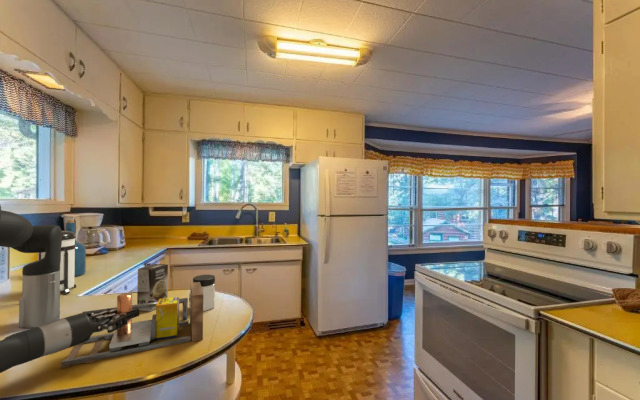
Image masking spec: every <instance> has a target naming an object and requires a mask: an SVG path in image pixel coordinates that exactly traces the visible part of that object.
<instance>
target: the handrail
mask: <svg viewBox="0 0 640 400" xmlns="http://www.w3.org/2000/svg"><path fill="white" fill-rule="evenodd" d="M188 302H189V297H184V298H179V305H180V304H182V318H181V319H182V321H188V309H189V308H188V307H189V306H188ZM157 303H158V302H152V303H145V304H137V303H136V304H132V310H134V309H145V308H152V307H156V305H157ZM104 309H105V308H102V309H93V310H86V311H82V312H81V313H85V314H86V313H89V312H94V311H99V310H104ZM106 309H111V310H113V309H117V306H116V307H109V308H106Z"/></svg>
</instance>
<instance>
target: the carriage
mask: <svg viewBox="0 0 640 400" xmlns="http://www.w3.org/2000/svg"><path fill="white" fill-rule="evenodd" d="M132 305H133V294H132V293H130V292H129V293H127V292H126V293H122V294H118V295H117V297H116V307H117V314H120V313H125V312H128V311H131V310H132ZM118 318H119V317H118ZM113 333H114V335H113V338H112V339H110V342H109V346H108V347H109V351H110V352H112V351H117V350H121V349H122V348H123V347H126V346H133V345H137V344H138V346H143V345H149V343H150V342H151V341H153V340H156V313H154V314H152V318H151V319H147V320H141V321H136V322H133V318H132V319H129V320H127V324H126V325H124V326H122V327H121V328H119V329H117V330H115V331H114V332H113Z"/></svg>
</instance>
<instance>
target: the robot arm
mask: <svg viewBox="0 0 640 400" xmlns="http://www.w3.org/2000/svg"><path fill="white" fill-rule="evenodd" d="M59 226H60V225H54V224H52V225H49V224H48V225H33V223H32V222H31V221H30V220H29V219H27V218H26V217H25V216H22V215H20V214H18V213H15V212H12V211H7V210H3V209H2V206H1V204H0V247H1V248H2V247H3V248H11V249H13V250H15V251H17V252H19V253H24V254H38V253H42V252H46V255H45V257H44V258H43V259H41V260H39V261H38V260H36V261H33V262H30V263H28V264H25V265H24V266H23V267H22V273H21V274H22V279H21V284H22V285H21V286H22V287H21V288H22V290H21V297H20V298H19V300H18V328H19V329H23V328H25V330H22V331H19V332H16V333H13V334H10V335H8V336H7V337H5V338H4V339H2V340H0V374H1V373H4V372H6V371H7V370H9V369H11V368H14V367H16V366H20V365H23V364H26V363H28V362H29V363H30V362H32V361H34V360H36V359H40V358H43V357H46V356H49V355H53V354H56V353H59V352H62V351H64V350H67V349H70V348H74V347H75V346H76V345H78V344H81V343H84V342H86V341H88V340H89V338H90V337H92V335H93V334H94V333H101V332H103V331H105V330H106V331H107V333H106V334H110V333H114V332H115V331H116V330H117V329H119V328H121V327H122V326H124V325H126V324H127V320H129V319H132V320H133V319H134V318H137V317H139V316H140V310H139V309H134V310H131V311H128V312H125V313H120V314H117V309H113V310H111V309H107V308H103V309H104V310H100V309H98V310H99V311H94V312H89V313H86V314H85V313H82V312H80V313H77V314H72V315H70V316H66V317H63V318H61V317H60V316H61V315H60V314H61V309H60V308H61V291H60V262H61V245H62V231H63V230H62V229H61V226H60V227H59ZM118 317H119V318H118ZM84 344H85V343H84Z"/></svg>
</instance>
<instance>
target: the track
mask: <svg viewBox="0 0 640 400" xmlns="http://www.w3.org/2000/svg"><path fill="white" fill-rule="evenodd" d="M189 321H190V319H189V320H188V319H187V320H182V321H179V328H180V327H186V326H187V327H188V326H190V325H189V324H190V322H189ZM114 333H115V332H111V333H104V334H98V335H94V336H92V335H91V336H90V338H89V340H88V341H86V342H84V343H81V344H78V345H76V346H73V347H72V350H71V351H70V352H69V354H68V355H67V357H66V359H63V360H62V361H61V362H60V369H66V368H67V369H68V368H70V366H74V365H78V364H83V363H84V364H86V365H87V364H92V363H94V362H95V361H99V360H102V359H108V358H114V357H119V356H125V355H129V354H134V353H138V352H144V351H149V350H153V349H154V350H155V349H159V348H165V347H168V346H169V347H170V346H173V345H179V344H183V343H190V342H191V335H187V336H181V337H176V338H170V339H164V340H159V341H155V342H151V343H150V342H149V345H143V346H139V345H135V346H129V347H124V348H123V347H122V348H121V350H117V351H112V352H110V350H109V351H107V350H106V351H102V352H100V350H101V347H102V346H103V344H104V342H105V341H106V340H112V338H113V335H114ZM95 342H96V343H95ZM90 343H95V345H93V348H92V350H91V351H90V354H86V355H82V356H78V357H77V355H78V353H79V352H80V350H81V349H82V347H83V346H84V344H90Z"/></svg>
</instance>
